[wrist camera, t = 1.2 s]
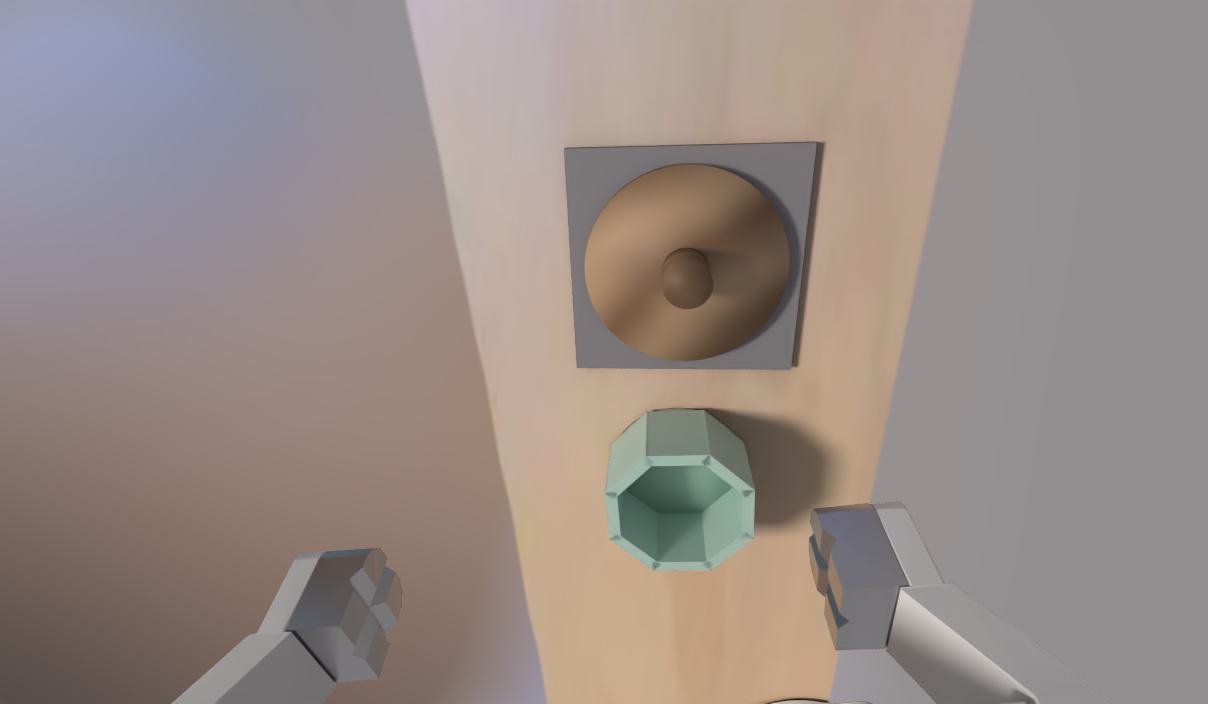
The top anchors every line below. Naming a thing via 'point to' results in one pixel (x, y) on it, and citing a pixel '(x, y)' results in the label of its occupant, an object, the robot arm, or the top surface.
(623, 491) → the ceramic bowl
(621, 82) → the top surface
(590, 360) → the rubber mat
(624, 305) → the walnut lid
